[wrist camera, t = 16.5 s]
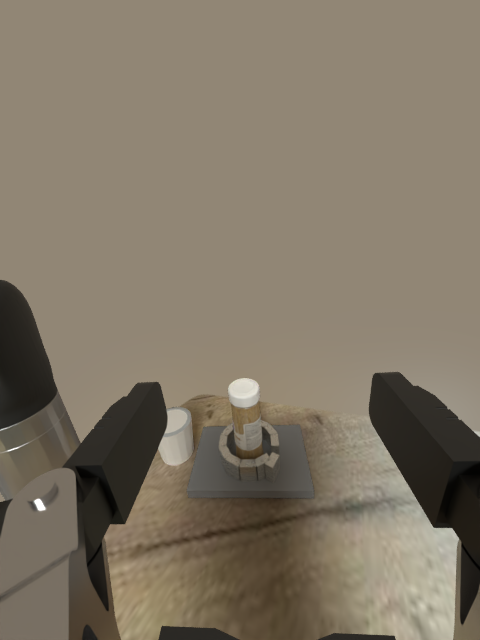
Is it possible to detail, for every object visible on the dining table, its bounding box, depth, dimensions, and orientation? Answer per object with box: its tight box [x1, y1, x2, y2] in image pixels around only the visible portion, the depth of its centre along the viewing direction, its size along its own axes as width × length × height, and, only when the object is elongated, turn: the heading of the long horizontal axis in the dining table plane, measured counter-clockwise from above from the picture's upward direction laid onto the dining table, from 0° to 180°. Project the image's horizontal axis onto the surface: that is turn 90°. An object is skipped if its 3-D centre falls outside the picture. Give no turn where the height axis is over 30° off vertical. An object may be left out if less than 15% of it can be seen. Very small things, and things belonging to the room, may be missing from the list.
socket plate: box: [187, 425, 314, 498], centre depth 40 cm, size 18×12×2 cm, turn 86°
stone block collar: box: [219, 420, 280, 483], centre depth 39 cm, size 9×10×3 cm
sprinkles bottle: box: [228, 378, 264, 460], centre depth 37 cm, size 5×5×13 cm
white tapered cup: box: [158, 407, 194, 465], centre depth 42 cm, size 7×7×7 cm
